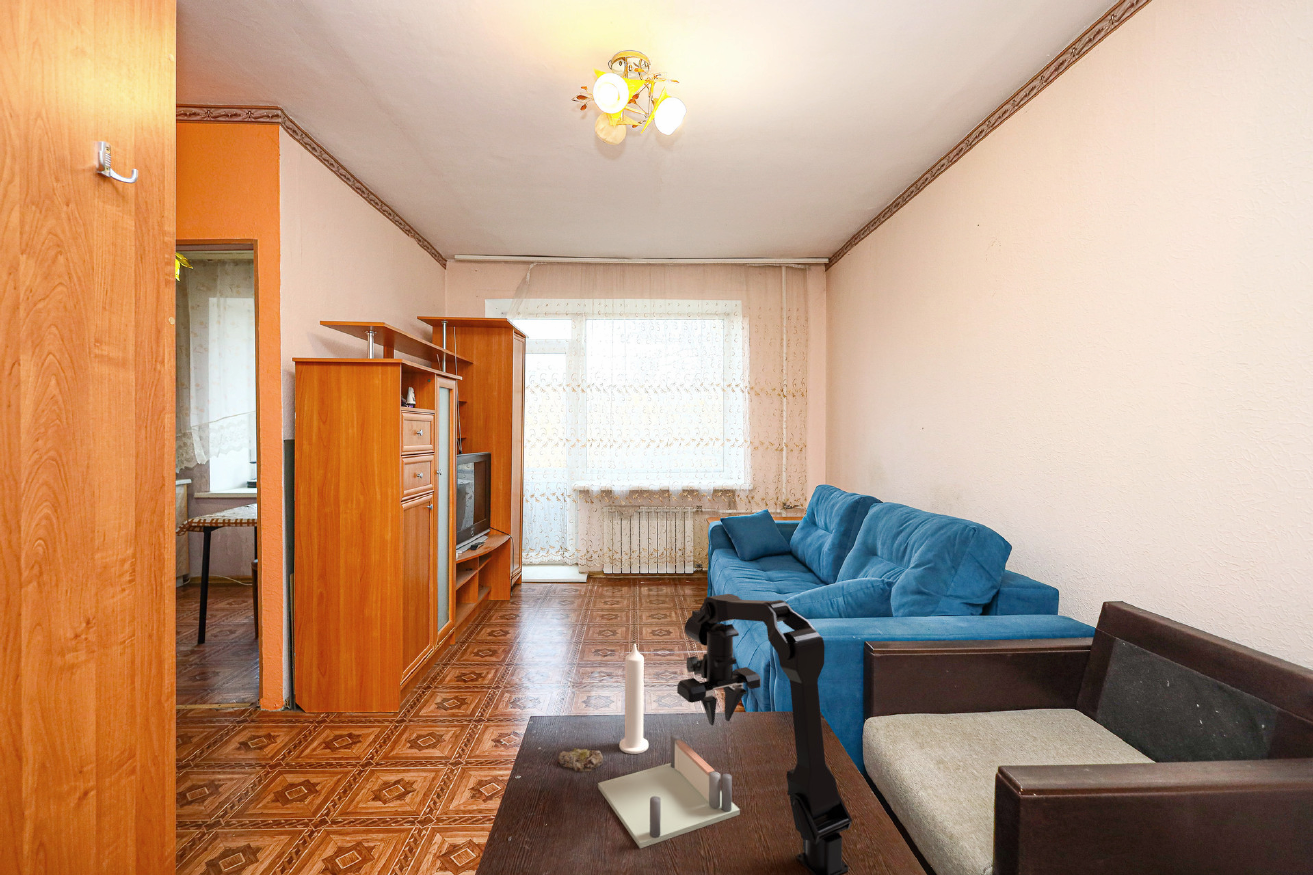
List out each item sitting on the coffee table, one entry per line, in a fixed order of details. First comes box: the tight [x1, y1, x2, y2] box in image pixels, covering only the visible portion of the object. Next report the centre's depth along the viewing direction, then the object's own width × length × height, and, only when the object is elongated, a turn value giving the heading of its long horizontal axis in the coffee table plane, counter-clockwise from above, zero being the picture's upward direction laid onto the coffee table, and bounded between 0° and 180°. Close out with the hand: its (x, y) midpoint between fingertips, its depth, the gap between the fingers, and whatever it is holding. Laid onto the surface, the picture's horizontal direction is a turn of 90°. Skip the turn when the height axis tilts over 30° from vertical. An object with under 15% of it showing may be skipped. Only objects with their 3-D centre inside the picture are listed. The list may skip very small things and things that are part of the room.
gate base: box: [597, 734, 741, 849], centre depth 122 cm, size 21×22×8 cm
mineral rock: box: [557, 747, 604, 773], centre depth 137 cm, size 11×4×8 cm
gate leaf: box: [675, 738, 721, 808], centre depth 125 cm, size 16×2×6 cm, turn 27°
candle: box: [619, 643, 649, 755], centre depth 144 cm, size 7×7×25 cm
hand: (719, 722), depth 131 cm, fingers open, 4 cm apart
